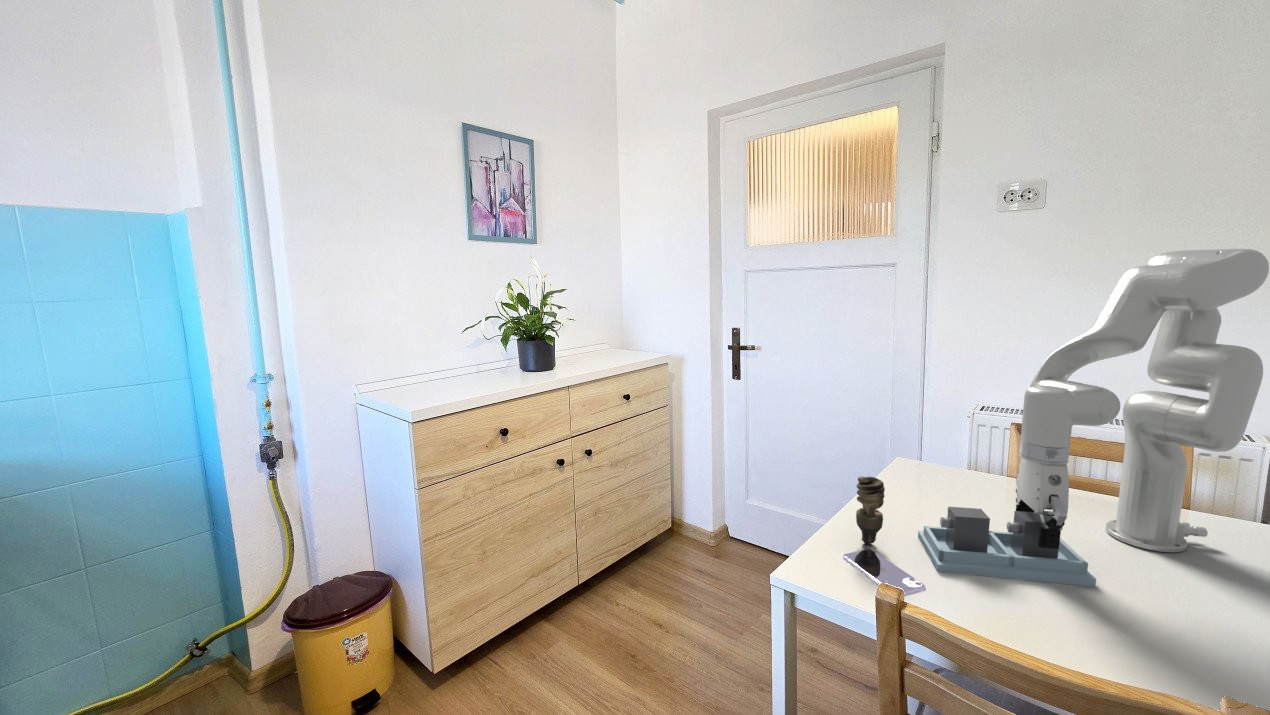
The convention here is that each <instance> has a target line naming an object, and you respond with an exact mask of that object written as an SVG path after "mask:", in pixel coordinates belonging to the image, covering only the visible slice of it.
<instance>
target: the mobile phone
mask: <svg viewBox="0 0 1270 715" xmlns="http://www.w3.org/2000/svg"><path fill="white" fill-rule="evenodd" d="M843 558H844V559H845V560H844V559H843ZM842 559H843V560H844V561H846V562H847V561H848V562H850V563H851V564H852V565H853V567H854V566H855V567H856V568H858V569H859V570H861V571H862V572H863V573H865V574H867V575H868V576H870V577H872V578H873V579H875V580H876V581H877V582H878V584H879V583H888V584H890V585H893V586H896V587H900V588H902V589H903V590H904V593H905V595H904V596H906V595H910V594H914V593H918V592H922V591H925V590H926V589H927V588H926V585H925V584H924V583H923V582H921V581H920V580H918V579H917V578H915V577H914V576H912V575H911V574H909V573H908V572H906V571H905V570H903V569H901V567H898V566H897V565H896V564H894V563H893V562H892V561H890V560H889V559H886V557H884V556H882V555H881V554H879V553H877V552H876V551H875V550H873V549H869V548H868V549H862V550H857V551H853V552H847V553H844V554H843V555H842ZM848 562H847V563H848ZM850 563H849V564H850ZM851 564H850V565H851ZM852 565H851V566H852ZM855 567H854V568H855ZM856 568H855V569H856ZM858 569H857V570H858ZM859 570H858V571H859ZM862 572H861V573H862ZM863 573H862V574H863ZM865 574H864V575H865ZM886 581H887V582H886ZM878 584H877V585H878Z"/></svg>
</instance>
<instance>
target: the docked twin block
mask: <svg viewBox="0 0 1270 715" xmlns="http://www.w3.org/2000/svg"><path fill="white" fill-rule="evenodd" d="M939 521H940V522H939V523H940V524H939V525H940V527H942V528H947V531H946V544H947V546H948V547H949V549H950V550H959V551H970V552H982V553H987V549H988V537H989V531H990V522H991V518H990V517H989V516H988V515H987V514H986V512H984V510H983V509H982V508H976V507H975V508H973V507H961V506H960V507H958V506H948V507H947V517H944V516H942V517H940V519H939Z"/></svg>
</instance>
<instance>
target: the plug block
mask: <svg viewBox="0 0 1270 715" xmlns="http://www.w3.org/2000/svg"><path fill="white" fill-rule="evenodd" d="M1052 518H1053V519H1054V516H1047V520H1048V521H1049V520H1050V519H1052ZM1040 526H1042V522H1041V518H1040V514H1038V513H1036V512H1022V511H1016V510H1014V513H1013V521H1012V522H1011V521H1007V523H1006V529H1007V532H1009V533H1013V534H1012V545H1011V549H1012V550H1013V551H1014V552H1015V553H1016V554H1017V555H1018V556H1029V557H1041V558H1053V559H1058V550H1059V548H1058V549H1051V548H1041V547H1039V546H1038V540H1039V530H1040Z"/></svg>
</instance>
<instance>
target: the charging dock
mask: <svg viewBox="0 0 1270 715" xmlns="http://www.w3.org/2000/svg"><path fill="white" fill-rule="evenodd" d="M946 531H947V528H942V527H941V526H932V525H931V526H930V525H924V527H923V530H918V531H917V538H918V539H919V542H920V544H921V545H922V548H923V549H924V550H925V552H926V554H927V556H928V558H929V559H930V561H931V562H932V565H933V566H934V568H935V569H936V572H937V573H946V574H957V575H958V574H959V575H968V576H978V577H987V578H988V577H989V578H999V579H1010V580H1021V581H1032V582H1040V583H1041V582H1042V583H1053V584H1065V585H1074V586H1085V587H1094V588H1095V587H1096V585H1097V578H1096V577H1095V576H1094V575H1093V574H1091V573H1090V571H1089V568H1088V567H1089V562H1087V561H1086V560H1085V559H1084V558H1083V557H1082V556H1081V555H1080V554H1078V552H1076V551H1075V550H1074V549H1073V548H1072V547H1071V546H1070V545H1068V544H1067V543H1066V542H1065V541H1064V540H1063V539H1062V538H1061V537H1060V543H1059V550H1058V559H1053V558H1041V557H1029V556H1018V555H1017V554H1016V553H1015V552H1014V551H1013V550H1012V549H1011V545H1012V534H1013V533H1009V532H1008V531H995V530H989V537H988V549H987V553H982V552H970V551H959V550H950V549H949V547H948V546H947V544H946Z"/></svg>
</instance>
